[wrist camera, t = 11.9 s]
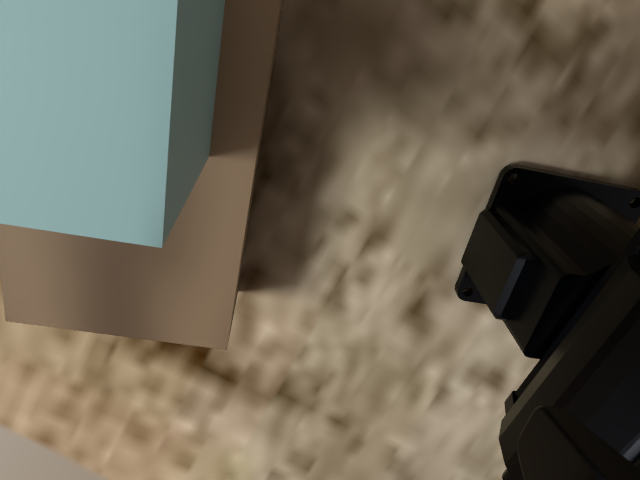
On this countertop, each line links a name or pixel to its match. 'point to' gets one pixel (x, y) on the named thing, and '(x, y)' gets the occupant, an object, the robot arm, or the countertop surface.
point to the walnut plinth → (185, 237)
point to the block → (105, 113)
